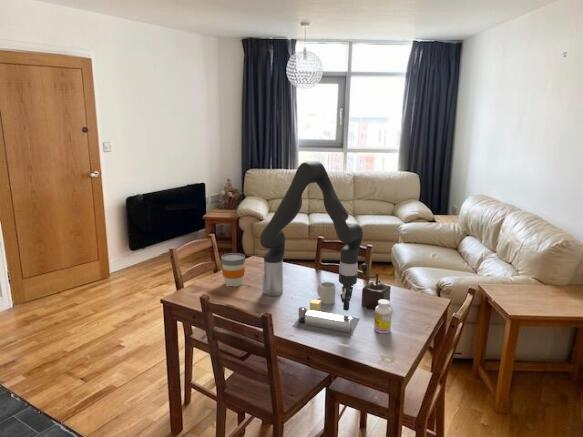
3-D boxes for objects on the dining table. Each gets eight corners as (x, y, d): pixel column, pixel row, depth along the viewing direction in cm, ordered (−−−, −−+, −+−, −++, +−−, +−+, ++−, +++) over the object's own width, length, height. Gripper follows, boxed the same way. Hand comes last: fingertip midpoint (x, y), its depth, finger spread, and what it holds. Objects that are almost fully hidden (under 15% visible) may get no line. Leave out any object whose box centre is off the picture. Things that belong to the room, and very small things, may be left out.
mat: (291, 328, 178) (291, 326, 178) (305, 310, 194) (305, 309, 194) (350, 339, 169) (350, 338, 169) (360, 319, 185) (360, 318, 185)
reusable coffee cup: (216, 285, 222) (215, 257, 218) (232, 277, 232) (231, 251, 229) (235, 290, 216) (234, 262, 212) (250, 282, 226) (250, 255, 222)
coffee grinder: (390, 304, 201) (393, 268, 197) (382, 312, 192) (384, 275, 188) (360, 296, 210) (362, 261, 205) (350, 304, 201) (352, 268, 196)
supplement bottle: (372, 326, 180) (373, 298, 177) (387, 325, 180) (389, 297, 177) (376, 334, 173) (378, 305, 170) (392, 333, 174) (394, 304, 171)
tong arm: (306, 321, 182) (307, 311, 181) (308, 319, 184) (308, 309, 183) (350, 329, 175) (350, 319, 174) (351, 327, 177) (352, 317, 176)
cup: (327, 307, 198) (328, 289, 196) (312, 300, 205) (312, 282, 203) (338, 302, 202) (338, 285, 200) (322, 296, 210) (323, 279, 207)
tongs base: (296, 323, 181) (297, 310, 179) (300, 319, 184) (300, 306, 183) (348, 333, 173) (349, 319, 171) (351, 328, 176) (351, 315, 175)
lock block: (309, 315, 188) (309, 302, 187) (312, 311, 192) (312, 298, 190) (318, 316, 187) (318, 304, 185) (320, 312, 190) (321, 300, 189)
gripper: (343, 265, 183) (341, 302, 187) (335, 275, 171) (333, 315, 175) (360, 267, 180) (358, 305, 185) (353, 278, 168) (351, 318, 173)
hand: (346, 309), depth 180 cm, fingers closed
